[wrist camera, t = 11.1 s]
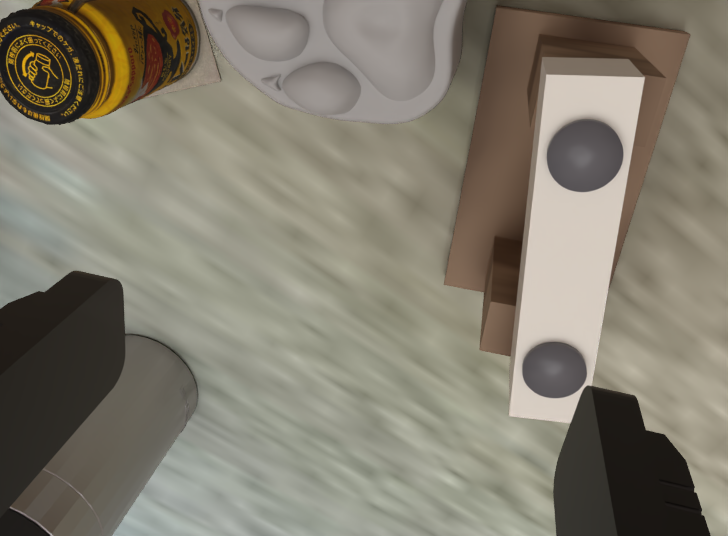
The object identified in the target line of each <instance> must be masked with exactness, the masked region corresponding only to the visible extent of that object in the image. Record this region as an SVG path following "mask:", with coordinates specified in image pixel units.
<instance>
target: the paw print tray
mask: <svg viewBox="0 0 728 536" xmlns="http://www.w3.org/2000/svg"><path fill="white" fill-rule="evenodd" d="M466 4H467V0H199V5H200V9H201V13H202V17H203V20H204V22H205V24H206V26H207V29H208V31H209V33H210V35H211V37H212V38H213V40H214V42H215V43H216V45H217V46H218V48H219V50H220V51H221V53H222V54H223V56H224V57H225V58H226V60H227V61H228V62H229V63H230V64H231V65H232V66H233V68H234V69H235V70H236V71H238V72H239V73H240V74H241V75H242V76H243V77H244V78H245V79H247V80H248V81H249V82H250V83H251V84H253V85H254V86H255V87H256V88H258V89H259V90H260V91H261V92H263V93H264V94H265V95H267V96H268V97H270V98H271V99H272V100H274V101H275V102H277V103H279V104H281V105H283V106H286V107H289V108H292V109H295V110H299V111H302V112H305V113H309V114H312V115H316V116H321V117H326V118H331V119H337V120H344V121H353V122H367V123H379V124H398V123H405V122H409V121H412V120H415V119H417V118H419V117H421V116H423V115H425V114H426V113H428V112H429V111H431V110H432V109H433V108H434V107H436V106H437V105H438V104H439V103H440V102H441V100H442V99H443V98H444V96H445V95H446V93H447V91H448V89H449V87H450V84H451V82H452V80H453V77H454V75H455V72H456V70H457V67H458V65H459V62H460V58H461V53H462V32H463V17H464V11H465V7H466Z"/></svg>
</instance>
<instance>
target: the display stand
mask: <svg viewBox="0 0 728 536" xmlns="http://www.w3.org/2000/svg"><path fill="white" fill-rule="evenodd" d="M689 37H690V34H688V33H687V32H685V31H678V30H670V29H663V28H656V27H649V26H642V25H634V24H627V23H620V22H613V21H606V20H598V19H591V18H584V17H577V16H570V15H562V14H555V13H548V12H541V11H534V10H526V9H519V8H512V7H505V6H498V5H497V7H496V12H495V17H494V23H493V28H492V33H491V39H490V44H489V49H488V54H487V60H486V65H485V70H484V76H483V81H482V86H481V91H480V97H479V102H478V107H477V113H476V118H475V123H474V128H473V134H472V139H471V144H470V149H469V155H468V160H467V165H466V171H465V176H464V181H463V186H462V192H461V197H460V202H459V208H458V213H457V218H456V223H455V229H454V234H453V239H452V245H451V250H450V255H449V260H448V266H447V271H446V276H445V281H444V285H449V286H454V287H459V288H464V289H470V290H475V291H480V292H484V301H483V313H482V326H481V338H480V350H481V351H486V352H491V353H496V354H501V355H506V356H511V348H512V339H513V329H514V320H515V310H516V301H517V291H518V282H519V272H520V263H521V253H522V244H523V234H524V225H525V215H526V206H527V196H528V187H529V178H530V168H531V159H532V149H533V140H534V130H535V121H536V111H537V102H538V92H539V83H540V73H541V64H542V57H566V58H608V59H629V60H630V61H631V62H632V63H633V65H634V66H635V67H636V68H637V69H638V70H639V71H640V72H641V74H642V75H643V76H644V77H645V80H644V85H643V91H642V97H641V103H640V109H639V114H638V120H637V126H636V132H635V137H634V143H633V149H632V155H631V161H630V166H629V172H628V178H627V184H626V189H625V195H624V201H623V207H622V213H621V218H620V224H619V230H618V236H617V241H616V247H615V253H614V259H613V265H612V270H611V276H610V282H609V287H610V284H611V281H612V278H613V275H614V271H615V268H616V265H617V262H618V259H619V256H620V253H621V250H622V246H623V243H624V240H625V237H626V234H627V231H628V228H629V225H630V222H631V218H632V215H633V212H634V209H635V206H636V203H637V200H638V197H639V193H640V190H641V187H642V184H643V181H644V178H645V175H646V172H647V168H648V165H649V162H650V159H651V156H652V153H653V150H654V147H655V143H656V140H657V137H658V134H659V131H660V128H661V125H662V122H663V119H664V115H665V112H666V109H667V106H668V103H669V100H670V97H671V94H672V90H673V87H674V84H675V81H676V78H677V75H678V72H679V69H680V65H681V62H682V59H683V56H684V53H685V50H686V47H687V44H688V40H689ZM608 290H609V288H608Z"/></svg>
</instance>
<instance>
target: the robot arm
mask: <svg viewBox="0 0 728 536" xmlns="http://www.w3.org/2000/svg"><path fill="white" fill-rule="evenodd" d="M197 397H198V395H197V387H196V384H195V381H194V378H193V376H192V374H191V372H190V371H189V369H188V367H187V366H186V365H185V364H184V362H183V361H182V360H181V359H180V358H179V357H178V356H177V355H176V354H175V353H173V352H172V351H171V350H170V349H168V348H167V347H165V346H163V345H162V344H160V343H158V342H156V341H153V340H151V339H148V338H145V337H140V336H135V335H125V324H124V298H123V288H122V285H121V283H120V282H119V281H118V280H117V279H113V278H108V277H104V276H99V275H95V274H90V273H86V272H81V271H73V272H71V273H69V274H68V275H66V276H65V277H64V278H62V279H61V280H60V281H59V282H57V283H56V284H55V285H53V286H52V287H51V288H50V289H48V290H47V291H46V292H40V291H38V292H36V293H33V294H31V295H28V296H26V297H23V298H20V299H18V300H15V301H13V302H10V303H8V304H7V305H5V306H4V307H3V308H1V309H0V536H112V535H113V533H114V532H115V530H116V529H117V527H118V526H119V524H120V523H121V521H122V520H123V518H124V517H125V515H126V514H127V512H128V511H129V509H130V508H131V506H132V505H133V503H134V502H135V500H136V499H137V497H138V496H139V494H140V493H141V491H142V490H143V488H144V487H145V485H146V484H147V482H148V481H149V479H150V478H151V476H152V475H153V473H154V472H155V470H156V469H157V467H158V466H159V464H160V463H161V461H162V460H163V458H164V456H165V455H166V453H167V452H168V450H169V449H170V448H171V446H172V445H173V443H174V442H175V440H176V439H177V437H178V436H179V434H180V433H181V432H182V431H183V429H184V428H185V426H186V424H187V422H188V421H189V419H190V417H191V416H192V414H193V413H194V410H195V408H196V405H197ZM694 488H695V487H694V484H693V481H692V478H691V475H690V472H689V469H688V466H687V463H686V460H685V459H684V458H683V457H682V455H681V454H680V453H679V452H678V450H677V449H676V448H675V447H674V446H673V444H672V443H671V442H670V441H669V439H668V438H667V437H666V436H665V435H664V434H660V433H655V432H651V431H647V430H645V426H644V422H643V418H642V415H641V411H640V407H639V404H638V400H637V398H636V397H635V396H634V395H630V394H625V393H621V392H616V391H612V390H607V389H603V388H598V387H594V386H589V385H587V386H586V387H585V388H584V390H583V391H582V393H581V396H580V399H579V401H578V404H577V407H576V410H575V413H574V415H573V418H572V421H571V424H570V427H569V429H568V432H567V435H566V438H565V441H564V443H563V446H562V449H561V452H560V455H559V458H558V461H557V466H556V471H555V477H554V491H553V493H554V508H555V522H556V535H557V536H710V533H709V530H708V527H707V524H706V520H705V517H704V516H703V515H701V511H702V508H701V505H700V502H699V499H698V496H697V493H695V492H694Z"/></svg>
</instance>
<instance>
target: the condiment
mask: <svg viewBox="0 0 728 536" xmlns="http://www.w3.org/2000/svg"><path fill="white" fill-rule="evenodd" d="M215 82H221V79H220V76H219V73H218V69H217V66H216V63H215V59H214V56H213V53H212V48H211V45H210V42H209V39H208V35H207V32H206V28H205V25H204V22H203V19H202V16H201V13H200V10H199V7H198V3H197V0H41V1H39V2H38V3H36V4H34V6H33V7H32V8H30V9H22V10H19V11H17V12H15V13H11V14H10V15H9V16H8V17H6V18H3V19H2V20H1V22H0V91H1V93H2V94H3V96H4V97H5V99H6V100H7V101H8V102H9V104H10V105H12V106H13V107H14V108H15V109H16V110H18V111H19V112H20V113H21V114H23V115H24V116H26V117H27V118H30V119H33V120H36V121H38V122H42V123H45V124H49V125H50V124H54V125H55V124H59V125H61V124H65V123H67V122H68V123H70V122H73V121H75V120H76V119H79V118H87V119H92V118H98V117H102V116H104V115H108V114H110V113H112V112H114V111H116V110H117V109H119V108H121V107H123V106H125V105H128V104H130V103H133V102H135V101H137V100H140V99H143V98H147V97H152V96H156V95H160V94H165V93H169V92H174V91H179V90H183V89H188V88H192V87H197V86H202V85H206V84H210V83H215Z"/></svg>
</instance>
